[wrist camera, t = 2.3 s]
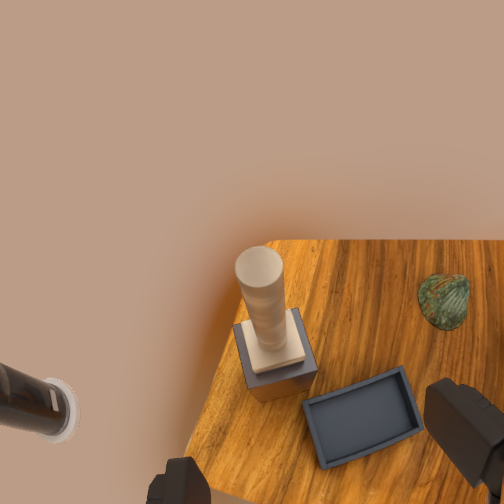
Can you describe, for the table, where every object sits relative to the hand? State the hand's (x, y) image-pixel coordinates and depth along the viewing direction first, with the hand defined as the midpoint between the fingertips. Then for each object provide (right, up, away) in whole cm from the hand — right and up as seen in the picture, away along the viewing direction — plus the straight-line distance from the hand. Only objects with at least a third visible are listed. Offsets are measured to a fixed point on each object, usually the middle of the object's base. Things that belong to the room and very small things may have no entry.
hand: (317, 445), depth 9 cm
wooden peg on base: (0, -3, +22) cm, 22 cm away
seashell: (+29, -2, +36) cm, 46 cm away
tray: (+13, -16, +28) cm, 35 cm away
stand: (+2, -11, +33) cm, 35 cm away
